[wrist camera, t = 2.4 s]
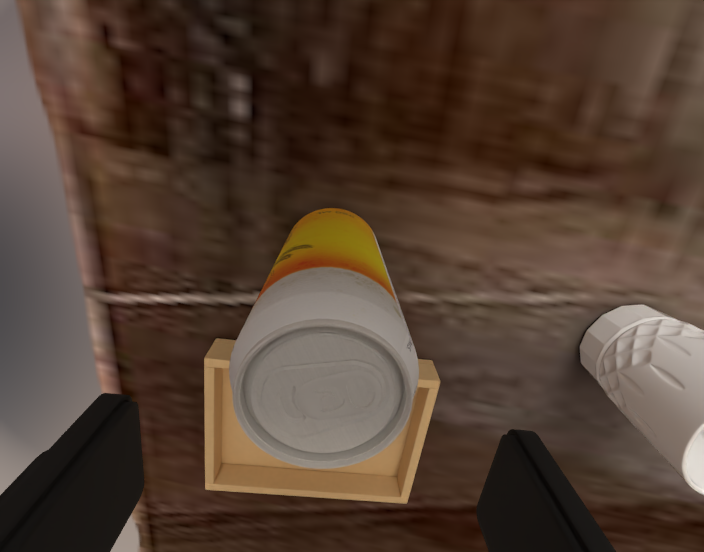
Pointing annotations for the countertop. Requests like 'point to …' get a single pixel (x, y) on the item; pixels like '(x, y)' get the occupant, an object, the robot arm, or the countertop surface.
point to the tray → (286, 479)
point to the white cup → (653, 380)
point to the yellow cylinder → (325, 349)
